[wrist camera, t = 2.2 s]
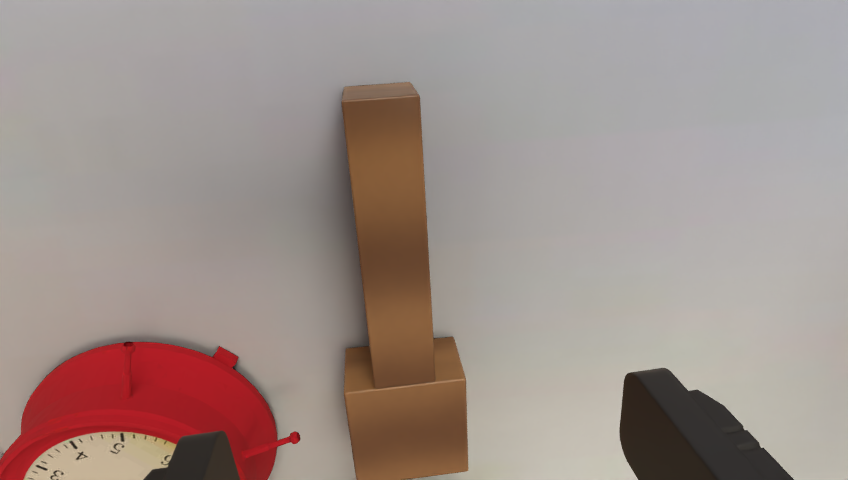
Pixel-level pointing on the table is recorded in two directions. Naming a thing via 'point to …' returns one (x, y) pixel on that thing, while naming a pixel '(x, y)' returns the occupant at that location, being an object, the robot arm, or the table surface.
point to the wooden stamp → (397, 301)
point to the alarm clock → (139, 415)
